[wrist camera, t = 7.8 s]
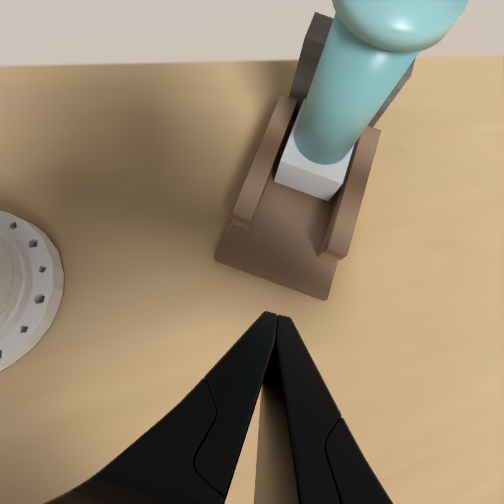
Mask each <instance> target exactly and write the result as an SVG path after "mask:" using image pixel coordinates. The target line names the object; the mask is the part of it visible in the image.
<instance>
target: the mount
mask: <svg viewBox="0 0 504 504" xmlns="http://www.w3.org/2000/svg"><path fill="white" fill-rule="evenodd" d="M332 22H333V18H330V17H327V16H325V15H322V14H319V13H316V12H315V14H314V16H313V19H312V22H311V24H310V26H309V29H308V31H307V34H306V36H305V39H304V43H303V47H302V50H301V54H300V58H299V62H298V65H297V69H296V73H295V77H294V81H293V84H292V88H291V92H290V96H289V97H287V96H284V95H282V94H281V95H280V97H279V100H278V102H277V105H276V107H275V110H274V112H273V114H272V117H271V119H270V122H269V124H268V127H267V129H266V131H265V134H264V136H263V139H262V141H261V144H260V146H259V148H258V151H257V153H256V156H255V158H254V161H253V163H252V165H251V168H250V170H249V173H248V175H247V178H246V180H245V182H244V185H243V187H242V190H241V192H240V195H239V197H238V199H237V202H236V204H235V207H234V209H233V212H232V217H231V220H230V222H229V225H228V227H227V229H226V232H225V234H224V237H223V239H222V242H221V244H220V247H219V249H218V251H217V254H216V256H215V261H218V262H221V263H223V264H226V265H229V266H231V267H234V268H237V269H240V270H242V271H245V272H248V273H250V274H253V275H256V276H258V277H261V278H264V279H266V280H269V281H272V282H275V283H277V284H280V285H283V286H285V287H288V288H291V289H293V290H296V291H299V292H302V293H304V294H307V295H310V296H312V297H315V298H318V299H320V300H323V301H325V300H327V298H328V294H329V291H330V287H331V284H332V280H333V276H334V273H335V269H336V266H337V262H338V260H340V259H342V258H344V257H346V256H347V254H348V250H349V246H350V242H351V239H352V235H353V231H354V228H355V224H356V220H357V217H358V213H359V209H360V206H361V202H362V198H363V195H364V191H365V187H366V184H367V180H368V176H369V173H370V169H371V165H372V162H373V158H374V154H375V151H376V147H377V143H378V140H379V136H380V132H381V130H378V129H376V128H373V126H374V125H375V124H376V122H377V121H378V119H379V118H380V117H381V115H382V114H383V113H384V111H385V110H386V109H387V107H388V106H389V105H390V103H391V102H392V101H393V99H394V98H395V96H396V95H397V94H398V92H399V91H400V90H401V88H402V87H403V86H404V84H405V83H406V82H407V80H408V79H409V78H410V76H411V73H412V70H413V66H414V62H415V59H414V60H413V62H412V63H411V64H410V66H409V67H408V69H407V70H406V72H405V73H404V74H403V76H402V77H401V79H400V80H399V82H398V83H397V84H396V86H395V87H394V89H393V90H392V91H391V93H390V94H389V96H388V97H387V99H386V100H385V101H384V103H383V104H382V106H381V107H380V108H379V110H378V111H377V113H376V114H375V116H374V117H373V118H372V120H371V121H370V123H369V124H368V126H367V127H366V128H365V130H364V131H363V133H362V134H361V135H360V137H359V138H358V140H357V141H356V143H355V144H354V147H353V151H352V154H351V157H350V161H349V164H348V167H347V171H346V174H345V177H344V181H343V184H342V185H341V186H340V187H339V189H338V190H337V191H336V192H335V194H334V195H333V196H332V197H331V198H330V200H329V201H326V200H323V199H320V198H317V197H315V196H312V195H309V194H306V193H304V192H301V191H298V190H296V189H293V188H290V187H287V186H285V185H282V184H279V183H276V182H274V180H275V176H276V173H277V170H278V167H279V164H280V161H281V158H282V155H283V153H284V150H285V147H286V145H287V142H288V140H289V137H290V134H291V132H292V129H293V126H294V124H295V121H296V118H297V116H298V113H299V111H300V108H301V105H302V103H303V100H304V98H305V99H306V98H307V95H308V92H309V89H310V86H311V83H312V81H313V78H314V75H315V72H316V69H317V66H318V63H319V60H320V57H321V54H322V51H323V49H324V46H325V43H326V40H327V37H328V34H329V31H330V28H331V25H332ZM415 58H416V57H415Z"/></svg>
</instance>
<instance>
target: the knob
mask: <svg viewBox="0 0 504 504" xmlns="http://www.w3.org/2000/svg"><path fill="white" fill-rule="evenodd" d="M332 2H333V6H334V9H335V11H336V14H335V16H334V19H333V22H332V25H331V28H330V31H329V34H328V37H327V40H326V43H325V46H324V49H323V51H322V54H321V57H320V60H319V63H318V66H317V69H316V72H315V75H314V78H313V81H312V83H311V86H310V89H309V92H308V95H307V98H306V99H305V98H304V100H303V103H302V105H301V108H300V111H299V113H298V116H297V118H296V121H295V124H294V126H293V129H292V132H291V134H290V137H289V140H288V142H287V145H286V147H285V150H284V153H283V155H282V158H281V161H280V164H279V167H278V170H277V173H276V176H275V180H274V182H276V183H279V184H282V185H285V186H287V187H290V188H293V189H296V190H298V191H301V192H304V193H306V194H309V195H312V196H315V197H317V198H320V199H323V200H326V201H329V200H330V198H331V197H332V196H333V195H334V194H335V192H336V191H337V190H338V189H339V187H340V186H341V185H342V184H343V181H344V177H345V174H346V171H347V167H348V164H349V161H350V157H351V154H352V151H353V147H354V144H355V143H356V141H357V140H358V138H359V137H360V135H361V134H362V133H363V131H364V130H365V128H366V127H367V126H368V124H369V123H370V121H371V120H372V118H373V117H374V116H375V114H376V113H377V111H378V110H379V108H380V107H381V106H382V104H383V103H384V101H385V100H386V99H387V97H388V96H389V94H390V93H391V91H392V90H393V89H394V87H395V86H396V84H397V83H398V82H399V80H400V79H401V77H402V76H403V74H404V73H405V72H406V70H407V69H408V67H409V66H410V64H411V63H412V62H413V60H414V59H415V57H416V56H417V55H418V53H419V52H420V51H422V50H425V49H428V48H430V47H432V46H434V45H435V44H437V43H438V42H439V41H440V40H442V38H443V37H444V36H445V35H446V33H447V32H448V31H449V29H450V28H451V27H452V25H453V24H454V22H455V21H456V20H457V19H458V17H459V16H460V15H461V13H462V12H463V11H464V9H465V7H466V5H467V2H468V0H332Z"/></svg>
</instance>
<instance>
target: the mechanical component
mask: <svg viewBox="0 0 504 504" xmlns="http://www.w3.org/2000/svg"><path fill="white" fill-rule="evenodd" d="M63 287H64V272H63V268H62V263H61V259H60V255H59V251H58V250H57V249H56V247H55V246H54V245H53V243H52V242H51V241H50V239H49V238H48V237H47V235H46V234H45V233H44V232H43V231H41V230H40V229H39V228H37V227H36V226H35V225H33V224H31V223H29V222H27V221H25V220H23V219H21V218H18V217H16V216H14V215H12V214H10V213H8V212H4V211H0V371H1V370H3V369H5V368H7V367H8V366H10V365H12V364H13V363H15V362H16V361H17V360H18V359H20V358H21V357H22V356H23V355H25V354H26V353H27V352H28V351H30V350H31V349H32V348H33V347H34V346H35V345H36V344H37V343H38V341H39V340H40V339H41V337H42V336H43V335H44V334H45V332H46V331H47V330H48V328H49V327H50V326H51V324H52V322H53V320H54V318H55V315H56V313H57V311H58V309H59V306H60V302H61V298H62V295H63Z"/></svg>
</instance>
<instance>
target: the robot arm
mask: <svg viewBox="0 0 504 504" xmlns="http://www.w3.org/2000/svg"><path fill="white" fill-rule="evenodd" d="M261 386H262V389H261ZM260 390H261V402H260V418H259V433H258V449H257V464H256V480H255V495H254V504H393V503H392V501H391V499H390V498H389V496H388V495H387V493H386V491H385V490H384V488H383V487H382V485H381V484H380V482H379V480H378V479H377V477H376V475H375V474H374V472H373V470H372V469H371V467H370V465H369V464H368V462H367V461H366V459H365V457H364V455H363V454H362V452H361V450H360V448H359V446H358V445H357V443H356V441H355V439H354V437H353V436H352V434H351V432H350V430H349V428H348V426H347V424H346V422H345V420H344V419H343V418H341V416H342V415H341V413H340V411H339V409H338V407H337V405H336V403H335V401H334V400H333V398H332V396H331V394H330V392H329V390H328V388H327V386H326V384H325V382H324V380H323V378H322V377H321V375H320V373H319V371H318V369H317V367H316V365H315V363H314V361H313V359H312V357H311V356H310V354H309V352H308V350H307V348H306V346H305V344H304V342H303V340H302V338H301V336H300V334H299V333H298V331H297V329H296V327H295V325H294V323H293V321H292V319H291V318H289V317H286V316H282V315H278V316H277V315H276V314H275V313H271V312H267V311H265V312H263V313H262V314H261V316H260V317H259V318H258V319H257V320H256V321H255V322H254V323H253V324H252V325H251V326H250V328H249V329H248V330H247V331H246V332H245V333H244V334H243V335H242V336H241V337H240V338H239V340H238V341H237V342H236V343H235V344H234V345H233V346H232V347H231V348H230V349H229V350H228V352H227V353H226V354H225V355H224V356H223V357H222V358H221V359H220V360H219V361H218V362H217V364H216V365H215V366H214V367H213V368H212V369H211V370H210V371H209V372H208V373H207V374H206V376H205V377H204V378H203V379H202V380H201V381H200V382H199V383H198V384H197V385H196V386H195V387H194V388H193V389H192V390H191V391H190V392H189V393H188V394H187V395H186V397H185V398H184V399H183V400H182V401H181V402H180V403H179V404H177V405H176V406H175V407H174V408H173V409H172V410H171V411H170V412H169V413H167V414H166V415H165V416H164V417H163V418H162V419H161V420H160V421H158V422H157V423H156V424H155V425H154V426H153V427H151V428H150V429H149V430H148V431H147V432H145V433H144V434H143V435H142V436H141V437H140V438H138V439H137V440H136V441H135V442H134V443H133V444H131V445H130V446H129V447H128V448H127V449H125V450H124V451H123V452H122V453H121V454H120V455H118V456H117V457H116V458H115V459H114V460H112V461H111V462H110V463H109V464H108V465H106V466H105V467H104V468H103V469H101V470H100V471H99V472H98V473H96V474H95V475H94V476H92V477H91V478H90V479H88V480H87V481H85V482H84V483H82V484H81V485H79V486H77V487H75V488H74V489H72V490H70V491H68V492H66V493H64V494H62V495H60V496H58V497H56V498H54V499H52V500H50V501H48V502H46V503H44V504H224V503H225V500H226V497H227V494H228V491H229V488H230V484H231V481H232V478H233V475H234V472H235V469H236V465H237V462H238V459H239V456H240V453H241V450H242V447H243V443H244V440H245V437H246V434H247V431H248V428H249V424H250V421H251V418H252V415H253V412H254V409H255V405H256V402H257V399H258V396H259V393H260Z"/></svg>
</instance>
